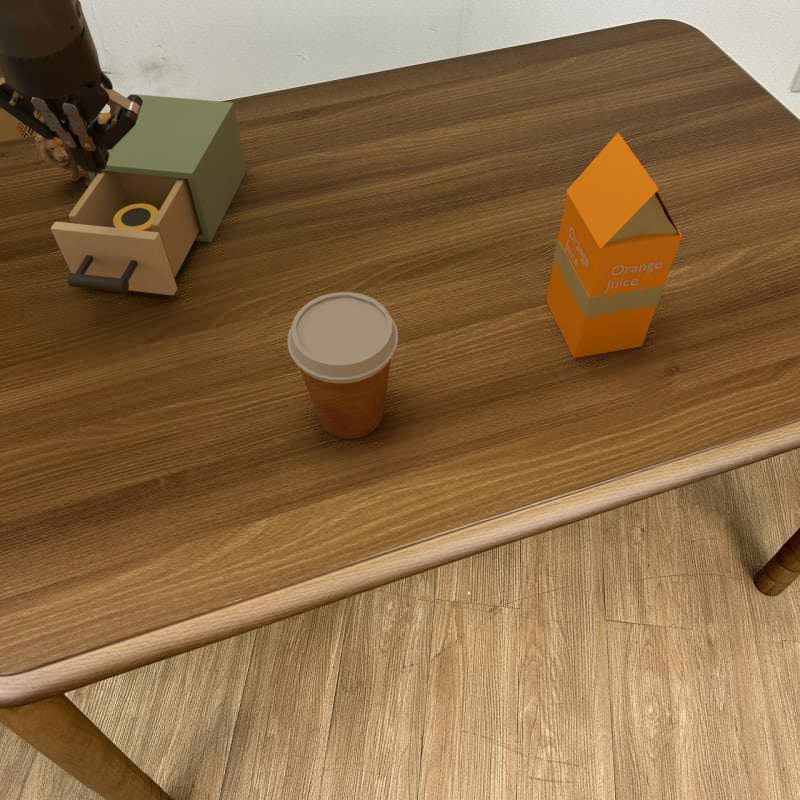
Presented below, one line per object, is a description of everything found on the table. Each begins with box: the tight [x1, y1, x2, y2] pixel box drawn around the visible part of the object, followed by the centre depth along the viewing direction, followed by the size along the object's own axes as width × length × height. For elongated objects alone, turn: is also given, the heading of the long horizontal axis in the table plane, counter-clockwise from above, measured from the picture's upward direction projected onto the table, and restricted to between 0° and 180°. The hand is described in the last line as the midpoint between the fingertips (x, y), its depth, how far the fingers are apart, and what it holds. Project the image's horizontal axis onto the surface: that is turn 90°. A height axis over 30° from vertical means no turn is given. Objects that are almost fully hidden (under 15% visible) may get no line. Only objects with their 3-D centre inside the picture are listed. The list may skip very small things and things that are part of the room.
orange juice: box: [545, 132, 683, 359], centre depth 72 cm, size 8×9×20 cm
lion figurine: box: [34, 111, 111, 187], centre depth 94 cm, size 15×5×9 cm, turn 149°
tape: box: [113, 203, 159, 232], centre depth 83 cm, size 5×5×4 cm
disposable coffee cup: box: [286, 291, 399, 440], centre depth 68 cm, size 10×10×12 cm
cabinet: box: [88, 93, 248, 243], centre depth 90 cm, size 15×13×10 cm
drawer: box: [50, 171, 201, 296], centre depth 82 cm, size 18×11×8 cm, turn 170°
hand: (96, 165), depth 71 cm, fingers closed
